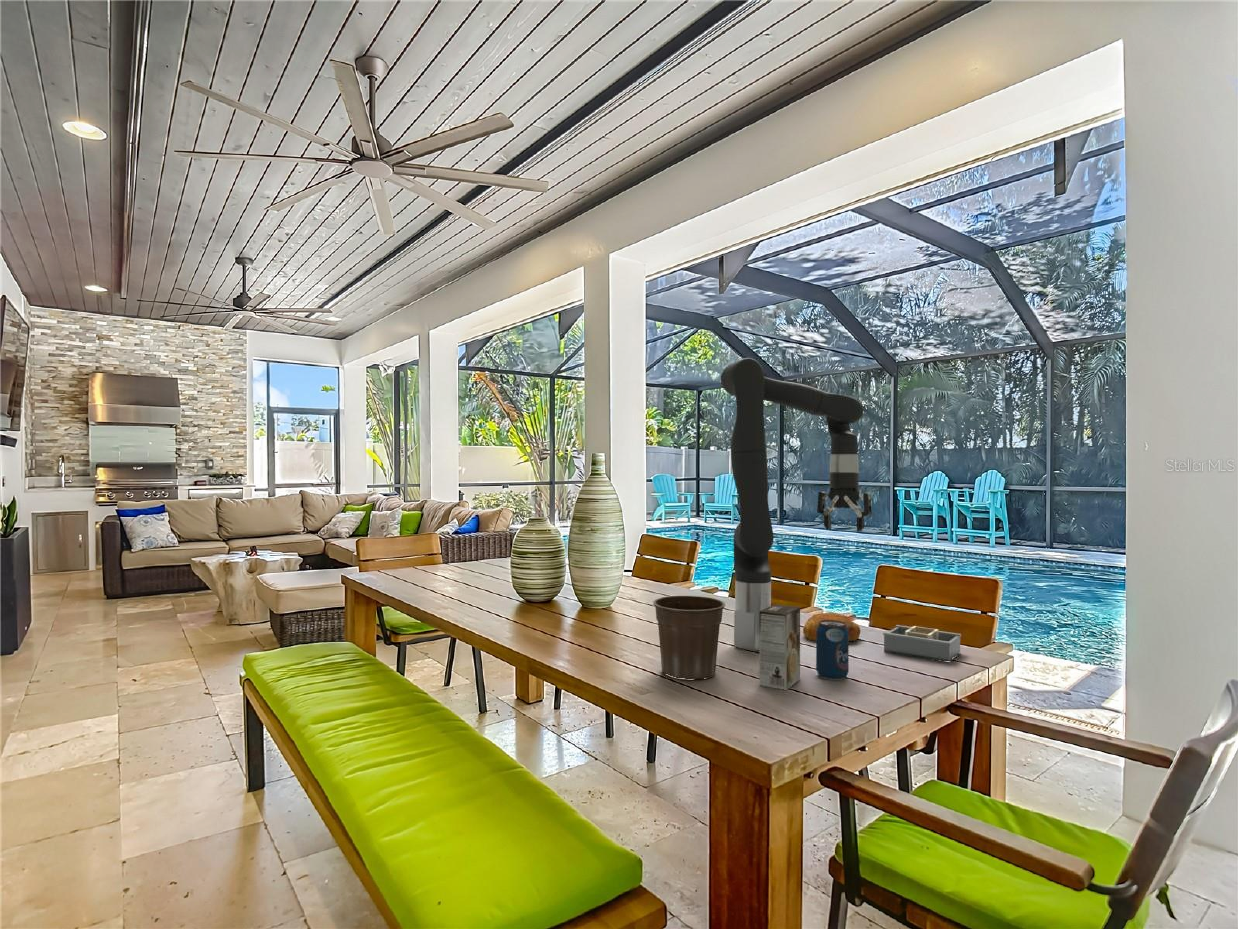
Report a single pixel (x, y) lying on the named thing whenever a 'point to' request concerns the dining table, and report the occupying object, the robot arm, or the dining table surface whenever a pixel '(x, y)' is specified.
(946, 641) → the box
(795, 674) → the coffee box
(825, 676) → the soda can
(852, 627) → the croissant
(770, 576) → the robot arm
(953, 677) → the dining table surface
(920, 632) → the small crate
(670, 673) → the plant pot
